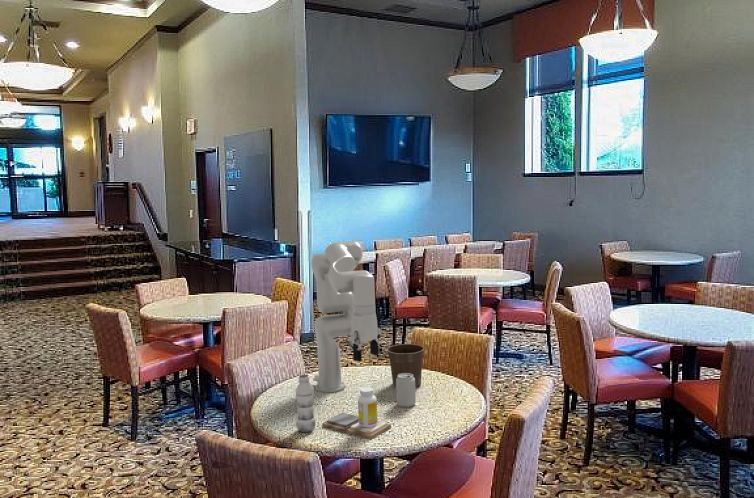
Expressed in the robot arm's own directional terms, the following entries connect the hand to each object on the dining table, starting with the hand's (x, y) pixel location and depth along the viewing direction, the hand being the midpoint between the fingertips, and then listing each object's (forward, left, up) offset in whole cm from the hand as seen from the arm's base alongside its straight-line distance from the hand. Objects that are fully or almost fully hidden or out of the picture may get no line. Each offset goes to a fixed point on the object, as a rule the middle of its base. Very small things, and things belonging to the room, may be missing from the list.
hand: (366, 357), depth 217 cm
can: (-2, +27, -27) cm, 38 cm away
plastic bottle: (-18, -13, -27) cm, 35 cm away
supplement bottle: (0, -1, -24) cm, 24 cm away
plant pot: (-15, +47, -27) cm, 56 cm away
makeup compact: (-5, -1, -26) cm, 27 cm away
